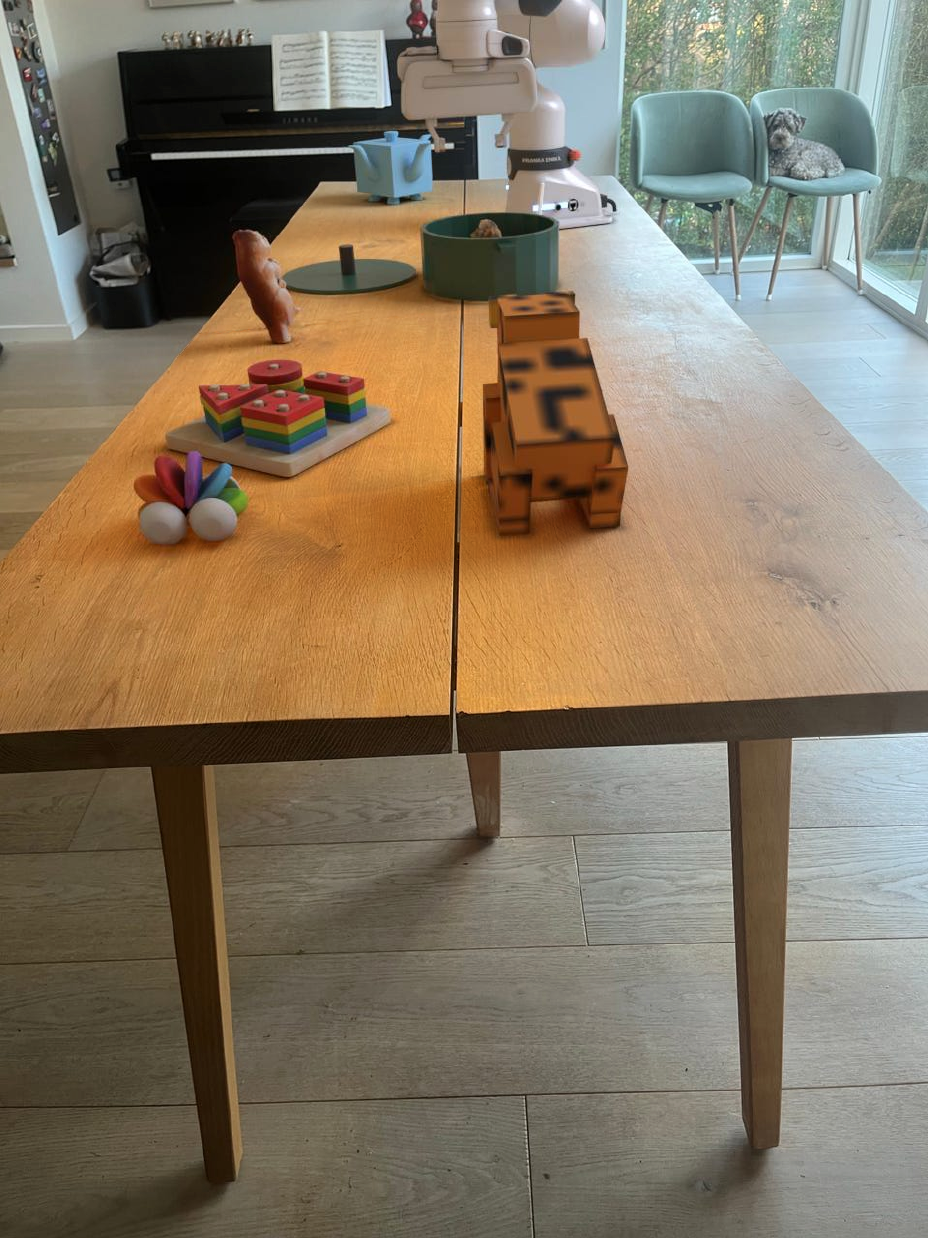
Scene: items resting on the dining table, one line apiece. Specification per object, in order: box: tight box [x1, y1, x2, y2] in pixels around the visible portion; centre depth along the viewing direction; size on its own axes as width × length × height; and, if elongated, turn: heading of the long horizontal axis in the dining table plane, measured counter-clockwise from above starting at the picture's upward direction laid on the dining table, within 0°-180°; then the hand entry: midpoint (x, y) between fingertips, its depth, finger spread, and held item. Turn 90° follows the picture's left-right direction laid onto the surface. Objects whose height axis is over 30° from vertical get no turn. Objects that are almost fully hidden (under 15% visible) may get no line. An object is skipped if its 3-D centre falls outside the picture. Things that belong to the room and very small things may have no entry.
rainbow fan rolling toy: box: [133, 451, 249, 547], centre depth 87 cm, size 8×10×7 cm
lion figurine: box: [470, 219, 502, 238], centre depth 156 cm, size 15×5×9 cm, turn 2°
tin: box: [419, 211, 560, 302], centre depth 157 cm, size 22×27×10 cm
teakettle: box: [347, 130, 434, 206], centre depth 231 cm, size 19×19×15 cm
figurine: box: [232, 229, 302, 344], centre depth 134 cm, size 6×8×15 cm
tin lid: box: [281, 243, 417, 295], centre depth 165 cm, size 23×23×6 cm
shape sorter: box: [165, 359, 392, 478], centre depth 106 cm, size 18×17×6 cm
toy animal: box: [482, 290, 629, 536], centre depth 88 cm, size 10×20×16 cm, turn 5°
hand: (470, 149), depth 150 cm, fingers open, 8 cm apart
